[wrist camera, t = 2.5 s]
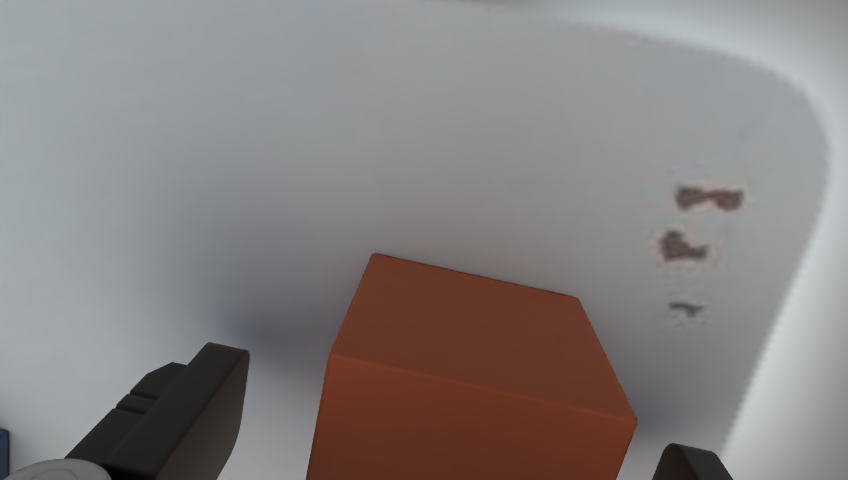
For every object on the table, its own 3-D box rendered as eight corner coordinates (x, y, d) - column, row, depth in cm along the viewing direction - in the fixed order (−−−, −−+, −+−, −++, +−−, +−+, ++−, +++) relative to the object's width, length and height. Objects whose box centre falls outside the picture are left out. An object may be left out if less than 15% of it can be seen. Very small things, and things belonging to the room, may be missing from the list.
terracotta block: (337, 429, 14) (283, 594, 10) (372, 252, 12) (328, 352, 8) (524, 470, 14) (552, 651, 10) (579, 297, 13) (640, 421, 8)
